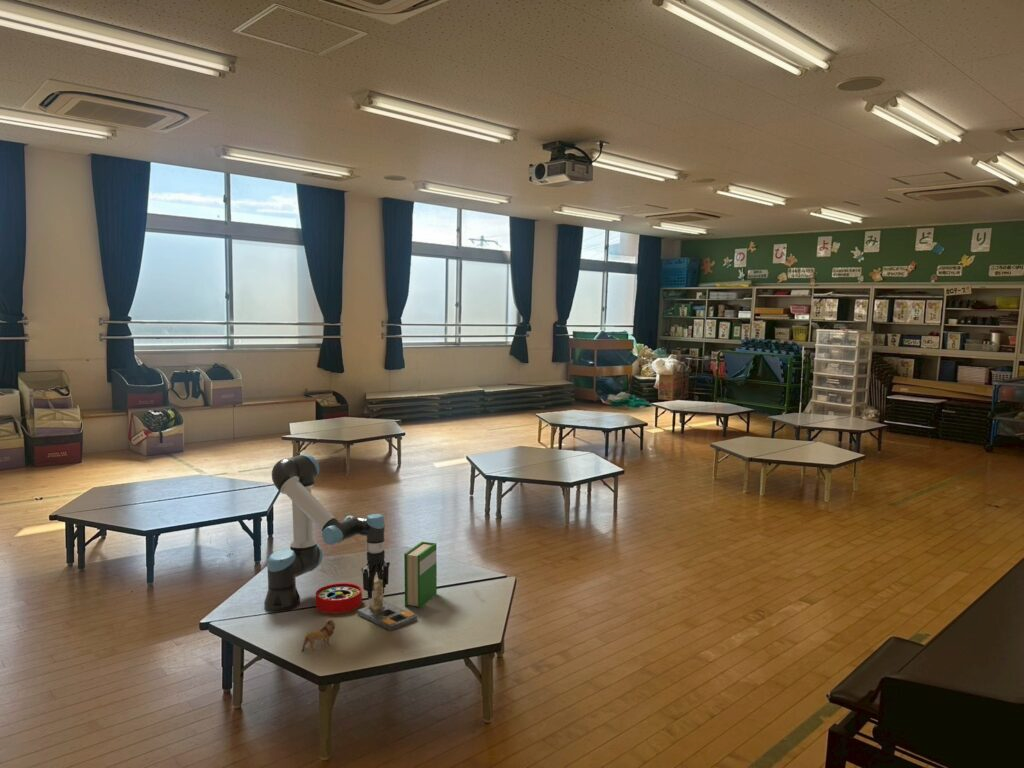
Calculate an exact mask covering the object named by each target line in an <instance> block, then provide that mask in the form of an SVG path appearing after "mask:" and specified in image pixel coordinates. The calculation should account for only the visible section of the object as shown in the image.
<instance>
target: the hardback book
mask: <svg viewBox="0 0 1024 768" xmlns="http://www.w3.org/2000/svg"><path fill="white" fill-rule="evenodd" d="M437 559H438V558H437V543H436V542H429V541H421V542H418V544H416V545H415V546H413V547H412V548H410V549H409V550H408V551H406V552H404V559H403V560H404V565H403V566H404V607H408V606H415V607H417V609H422V607H423V606H425V605H426V604H427V603H428V602H429V601H430V600H431V599H432V598H434V597H435V596H436V595H437V593H438V592H437V591H438V589H437V585H438V584H437V579H438V578H437V575H438V574H437V562H438V561H437Z"/></svg>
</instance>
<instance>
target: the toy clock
mask: <svg viewBox="0 0 1024 768" xmlns="http://www.w3.org/2000/svg"><path fill="white" fill-rule="evenodd" d="M362 589H363V588H361V586H360V585H357V584H354V583H348V582H343V583H340V582H337V583H332V584H328V585H325V586H322V587H320V588H318V589H317V590H316V592H315V608H316V610H317V611H319V612H323V613H326V614H343V613H347V612H351V611H354V610H355V609H358V608H359V607H360V606H361V605H362V604H363V593H362V592H363V590H362Z"/></svg>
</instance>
